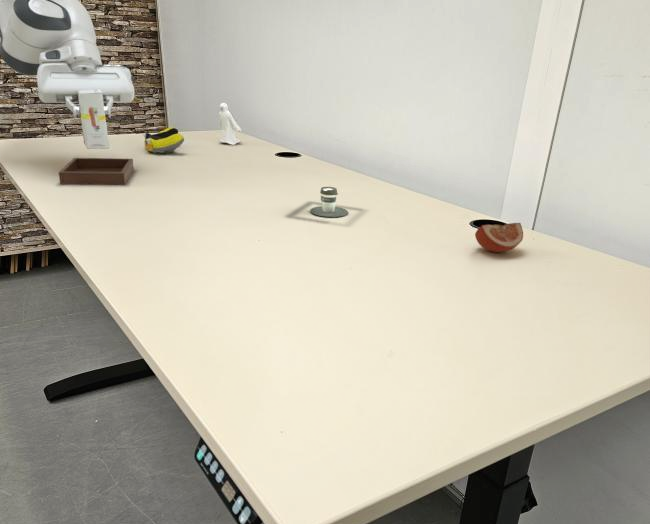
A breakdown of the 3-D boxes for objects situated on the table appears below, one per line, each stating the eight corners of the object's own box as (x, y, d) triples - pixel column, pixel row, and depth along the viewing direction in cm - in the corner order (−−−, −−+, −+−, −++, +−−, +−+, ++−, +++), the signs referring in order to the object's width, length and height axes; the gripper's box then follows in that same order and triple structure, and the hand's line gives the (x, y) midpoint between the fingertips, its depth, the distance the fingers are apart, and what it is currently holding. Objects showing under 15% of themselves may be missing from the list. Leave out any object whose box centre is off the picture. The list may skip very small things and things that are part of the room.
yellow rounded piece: (178, 145, 176) (143, 145, 173) (177, 126, 173) (141, 126, 170) (185, 155, 163) (148, 156, 160) (184, 134, 161) (146, 135, 158)
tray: (60, 184, 129) (58, 172, 128) (75, 168, 143) (73, 157, 142) (125, 184, 131) (123, 173, 130) (133, 169, 145) (132, 158, 144)
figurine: (212, 142, 182) (211, 101, 177) (231, 140, 188) (230, 100, 183) (230, 146, 179) (229, 104, 173) (248, 143, 184) (248, 102, 179)
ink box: (83, 142, 137) (76, 87, 131) (105, 142, 139) (99, 88, 133) (86, 149, 130) (78, 92, 124) (109, 149, 132) (103, 92, 126)
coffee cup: (364, 209, 123) (366, 185, 121) (346, 224, 113) (348, 198, 110) (310, 201, 126) (311, 178, 124) (288, 215, 116) (289, 190, 114)
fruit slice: (504, 243, 107) (509, 216, 105) (529, 255, 101) (535, 227, 99) (465, 247, 104) (470, 219, 102) (489, 260, 98) (494, 231, 96)
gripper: (128, 74, 141) (139, 124, 138) (34, 73, 133) (43, 125, 129) (129, 55, 136) (141, 106, 132) (31, 52, 127) (41, 106, 124)
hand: (92, 115), depth 131 cm, fingers closed on ink box, 5 cm apart
